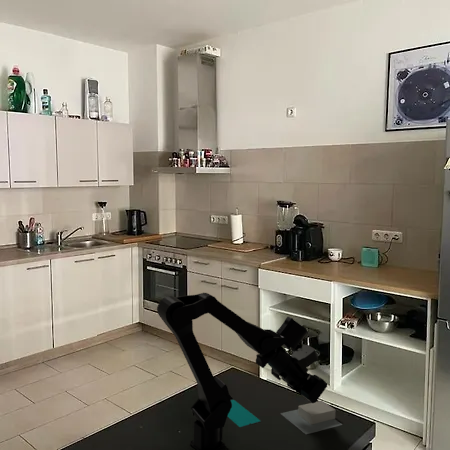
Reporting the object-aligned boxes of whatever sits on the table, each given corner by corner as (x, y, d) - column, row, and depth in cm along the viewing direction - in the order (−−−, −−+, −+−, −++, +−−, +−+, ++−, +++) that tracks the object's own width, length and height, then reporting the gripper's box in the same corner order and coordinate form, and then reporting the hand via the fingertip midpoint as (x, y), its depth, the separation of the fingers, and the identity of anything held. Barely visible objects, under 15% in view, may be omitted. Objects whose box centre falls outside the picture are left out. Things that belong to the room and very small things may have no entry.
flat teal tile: (233, 398, 137) (262, 421, 124) (233, 401, 137) (262, 424, 124) (211, 404, 134) (239, 427, 121) (211, 407, 134) (239, 431, 121)
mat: (305, 435, 118) (305, 434, 118) (280, 414, 129) (280, 413, 129) (342, 426, 123) (342, 424, 123) (315, 406, 134) (315, 405, 134)
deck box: (311, 415, 123) (335, 409, 126) (298, 405, 128) (321, 400, 132) (311, 424, 123) (335, 418, 126) (298, 414, 128) (321, 409, 132)
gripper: (322, 349, 114) (355, 384, 120) (281, 328, 131) (311, 360, 137) (295, 385, 111) (330, 420, 117) (256, 359, 128) (288, 390, 134)
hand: (314, 395), depth 126 cm, fingers closed
